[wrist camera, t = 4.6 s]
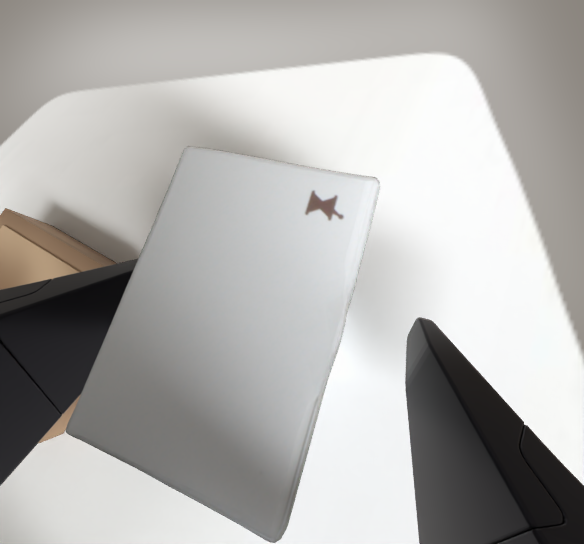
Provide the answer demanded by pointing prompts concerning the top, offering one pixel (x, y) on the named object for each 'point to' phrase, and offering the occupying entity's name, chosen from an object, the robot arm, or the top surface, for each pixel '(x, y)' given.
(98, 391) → the skincare box
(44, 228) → the walnut tray
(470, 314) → the top surface
